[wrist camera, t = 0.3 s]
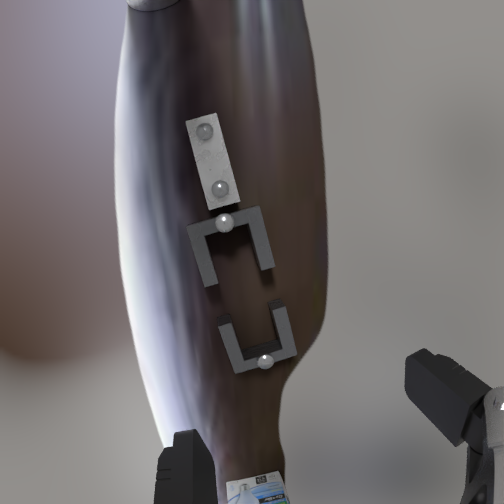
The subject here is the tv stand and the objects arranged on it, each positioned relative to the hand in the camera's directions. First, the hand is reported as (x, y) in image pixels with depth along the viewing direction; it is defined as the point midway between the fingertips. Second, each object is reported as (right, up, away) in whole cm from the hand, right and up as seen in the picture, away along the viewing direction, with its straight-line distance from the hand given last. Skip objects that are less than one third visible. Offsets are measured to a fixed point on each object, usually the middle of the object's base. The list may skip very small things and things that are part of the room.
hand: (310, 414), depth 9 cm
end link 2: (-2, -5, +28) cm, 29 cm away
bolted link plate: (-7, +16, +24) cm, 30 cm away
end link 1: (-5, +7, +26) cm, 27 cm away
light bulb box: (-1, -39, +35) cm, 52 cm away
